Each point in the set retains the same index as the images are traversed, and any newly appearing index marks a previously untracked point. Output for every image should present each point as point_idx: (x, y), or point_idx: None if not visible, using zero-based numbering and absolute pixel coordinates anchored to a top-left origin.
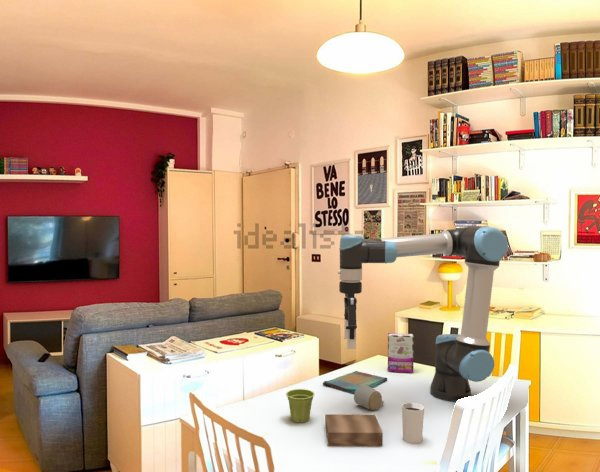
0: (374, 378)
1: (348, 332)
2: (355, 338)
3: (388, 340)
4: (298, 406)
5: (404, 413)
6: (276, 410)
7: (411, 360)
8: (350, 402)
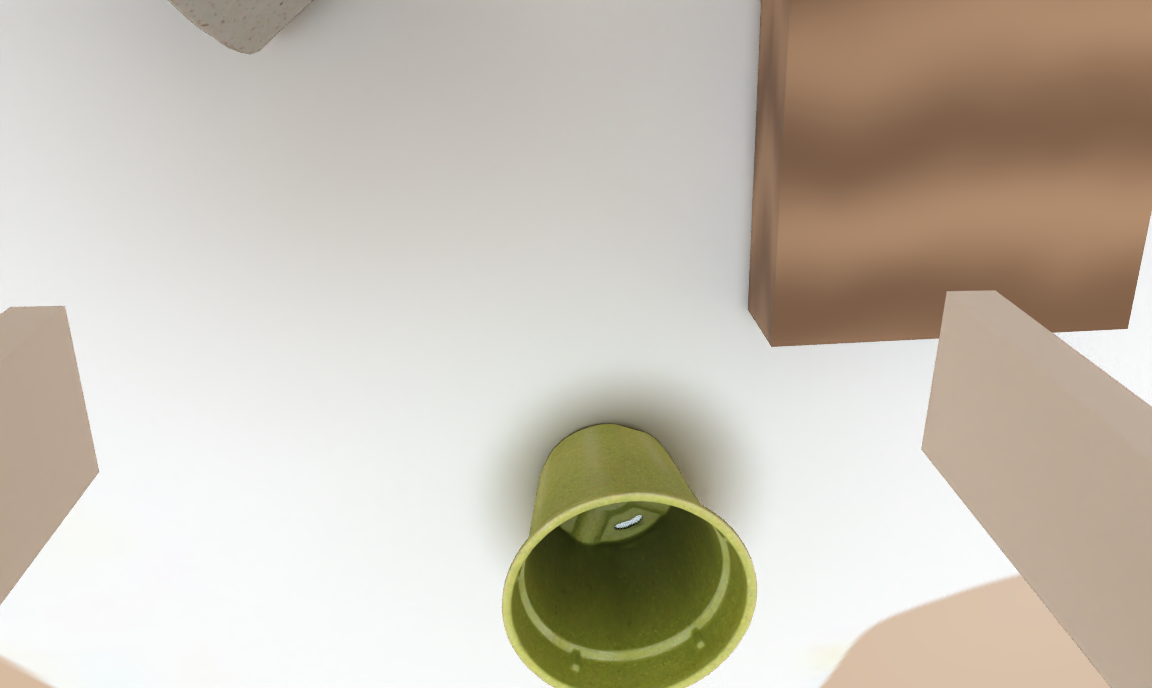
0: None
1: None
2: (1120, 396)
3: None
4: (714, 564)
5: None
6: (445, 639)
7: None
8: (164, 66)
